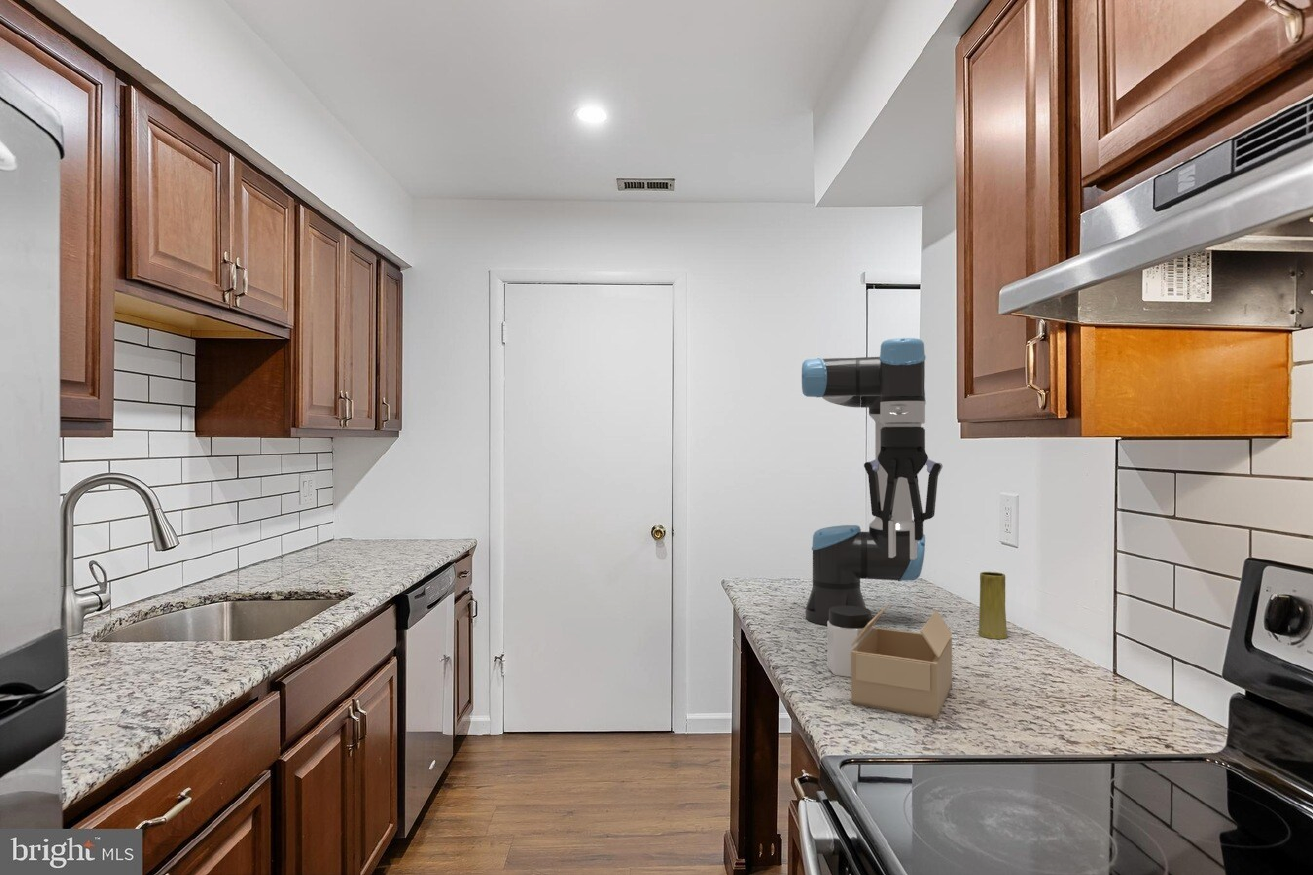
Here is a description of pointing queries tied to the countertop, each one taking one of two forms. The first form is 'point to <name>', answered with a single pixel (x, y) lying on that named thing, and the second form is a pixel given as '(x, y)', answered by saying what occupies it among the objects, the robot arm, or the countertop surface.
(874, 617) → the flap
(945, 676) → the carton
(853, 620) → the jar
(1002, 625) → the vase
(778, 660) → the countertop surface
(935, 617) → the flap
